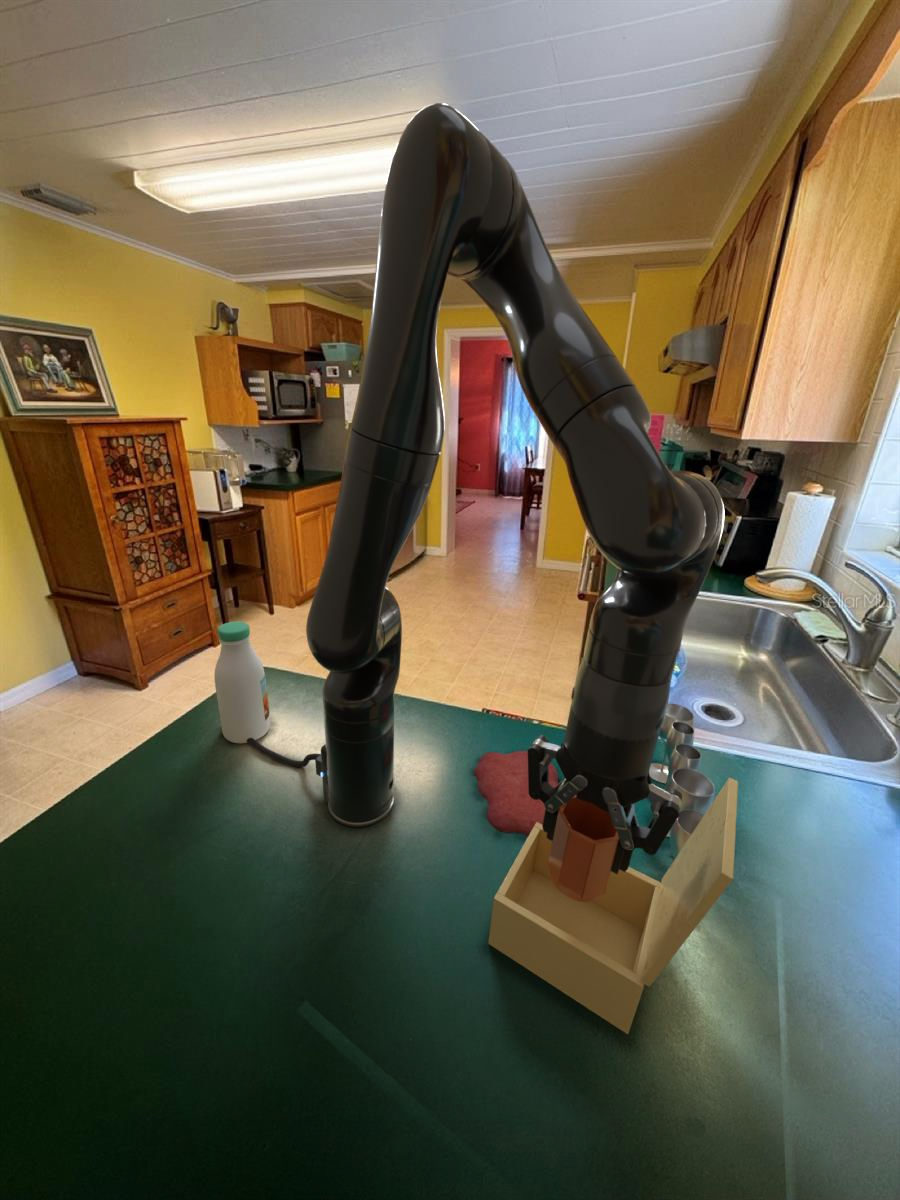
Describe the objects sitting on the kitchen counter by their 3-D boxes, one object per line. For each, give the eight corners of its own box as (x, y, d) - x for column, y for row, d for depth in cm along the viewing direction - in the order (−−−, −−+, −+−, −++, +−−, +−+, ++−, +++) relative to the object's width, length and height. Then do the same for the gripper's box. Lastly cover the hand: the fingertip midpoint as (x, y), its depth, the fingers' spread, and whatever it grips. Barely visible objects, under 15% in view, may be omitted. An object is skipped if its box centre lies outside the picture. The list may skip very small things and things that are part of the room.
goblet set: (701, 924, 54) (733, 840, 49) (648, 906, 56) (674, 823, 51) (678, 766, 79) (697, 699, 74) (641, 757, 81) (658, 691, 76)
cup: (540, 881, 47) (551, 822, 44) (560, 841, 52) (571, 785, 49) (597, 914, 45) (614, 853, 42) (612, 868, 49) (628, 810, 46)
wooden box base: (487, 947, 51) (493, 898, 48) (529, 867, 60) (536, 821, 57) (626, 1039, 44) (643, 987, 41) (649, 932, 53) (664, 884, 50)
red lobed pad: (591, 835, 65) (593, 825, 64) (494, 848, 62) (495, 836, 62) (544, 751, 81) (546, 741, 80) (466, 758, 78) (467, 748, 77)
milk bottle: (260, 745, 78) (247, 638, 71) (214, 743, 78) (196, 636, 71) (277, 717, 86) (266, 617, 78) (234, 715, 86) (220, 615, 78)
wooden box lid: (721, 872, 34) (733, 879, 34) (729, 776, 43) (738, 781, 43) (640, 981, 41) (649, 987, 41) (661, 878, 50) (669, 883, 50)
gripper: (711, 718, 40) (665, 859, 47) (552, 665, 47) (530, 794, 53) (703, 768, 34) (651, 922, 41) (522, 700, 41) (501, 841, 47)
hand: (583, 849), depth 47 cm, fingers closed on cup, 6 cm apart
